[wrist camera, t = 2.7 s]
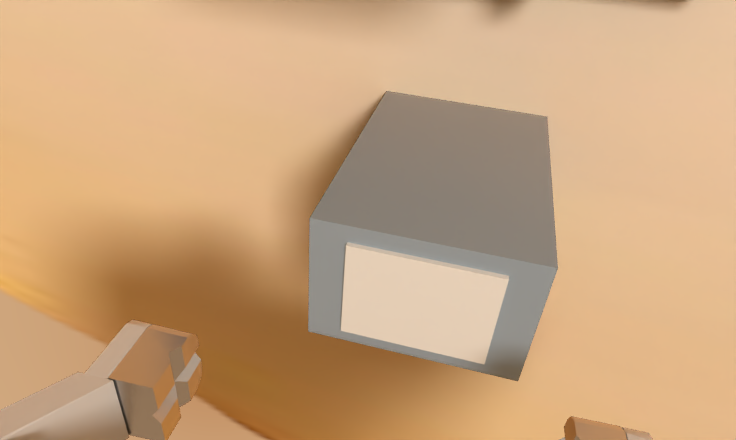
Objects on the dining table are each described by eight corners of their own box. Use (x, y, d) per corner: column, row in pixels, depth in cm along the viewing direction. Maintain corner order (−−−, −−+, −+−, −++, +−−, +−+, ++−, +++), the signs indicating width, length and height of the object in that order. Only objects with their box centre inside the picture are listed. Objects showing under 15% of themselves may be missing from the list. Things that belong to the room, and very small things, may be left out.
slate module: (546, 116, 20) (558, 272, 12) (521, 208, 22) (518, 385, 15) (386, 91, 21) (307, 221, 13) (378, 181, 23) (306, 335, 16)
